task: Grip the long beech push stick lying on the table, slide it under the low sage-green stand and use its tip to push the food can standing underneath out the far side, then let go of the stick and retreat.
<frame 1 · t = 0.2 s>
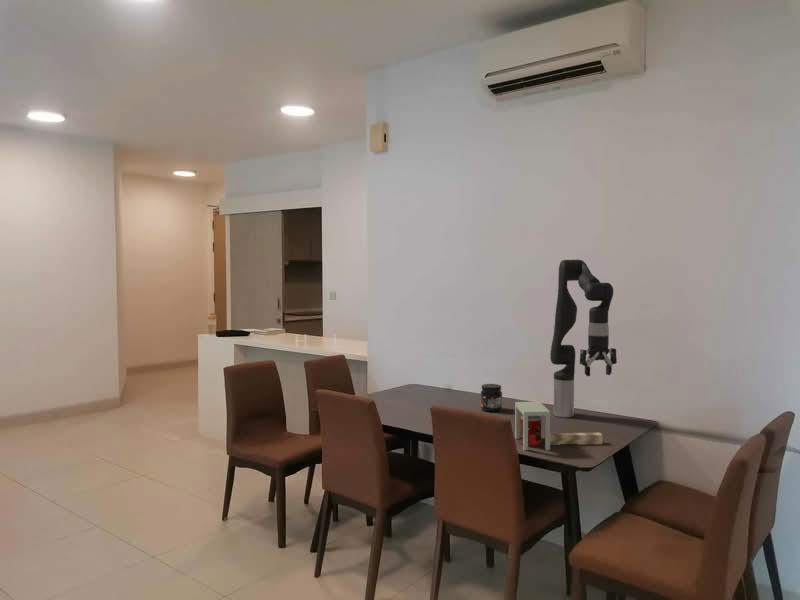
hand: (598, 375, 226), 28 cm above the table, tool pointing down, fingers open, 8 cm apart
push stick: (573, 444, 230), on the table
supplement container: (491, 410, 283), on the table
stand: (532, 443, 230), on the table
canned food: (530, 444, 230), on the table
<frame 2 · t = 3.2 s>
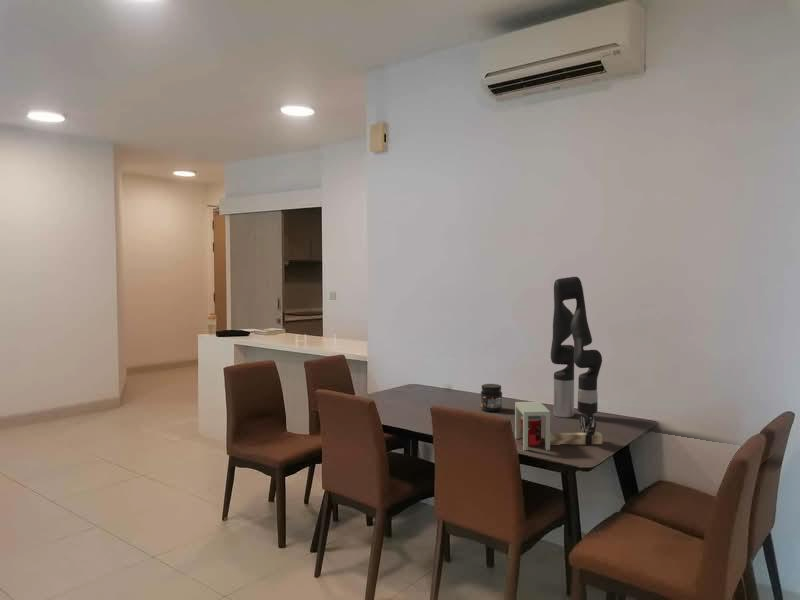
hand: (587, 442, 230), 0 cm above the table, tool pointing down, fingers closed on push stick, 3 cm apart
push stick: (573, 443, 230), on the table, touching gripper
everything else where it was.
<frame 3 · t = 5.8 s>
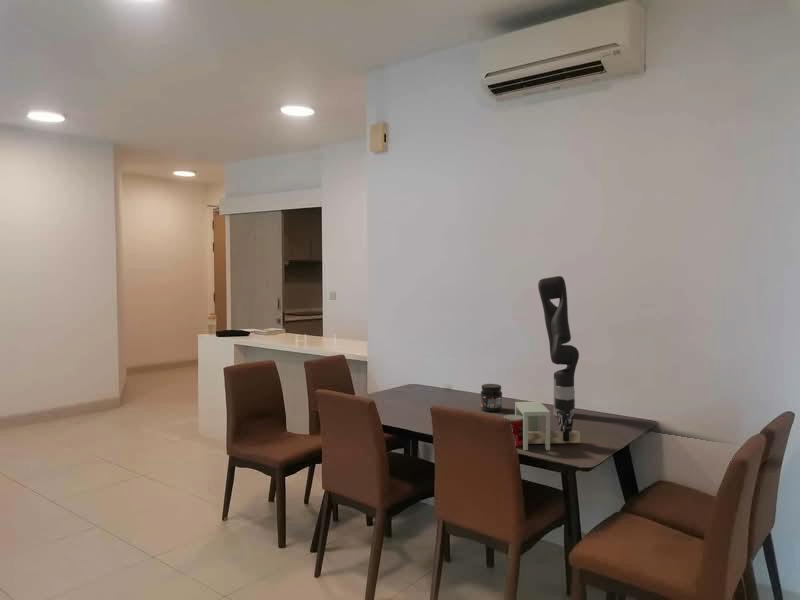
hand: (564, 439, 230), 2 cm above the table, tool pointing down, fingers closed on push stick, 3 cm apart
push stick: (551, 442, 230), point 1 cm above the table, touching canned food, gripper
canned food: (513, 444, 229), on the table, touching push stick
everything else where it was.
when the fingers open (2 cm above the table, at t = 8.1 s): push stick stays where it is, on the table.
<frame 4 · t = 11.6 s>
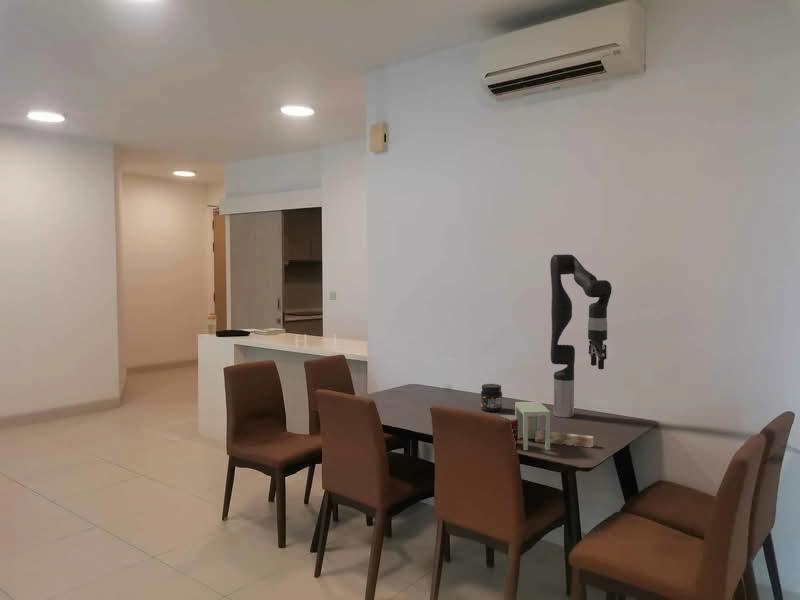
hand: (597, 367, 240), 28 cm above the table, tool pointing down, fingers open, 8 cm apart
push stick: (563, 444, 230), on the table
canned food: (507, 444, 230), on the table
everything else where it was.
at the end: canned food inside the target area (4.3 cm from its centre), on the table; canned food moved 9.2 cm from its start; the gripper is holding nothing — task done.
